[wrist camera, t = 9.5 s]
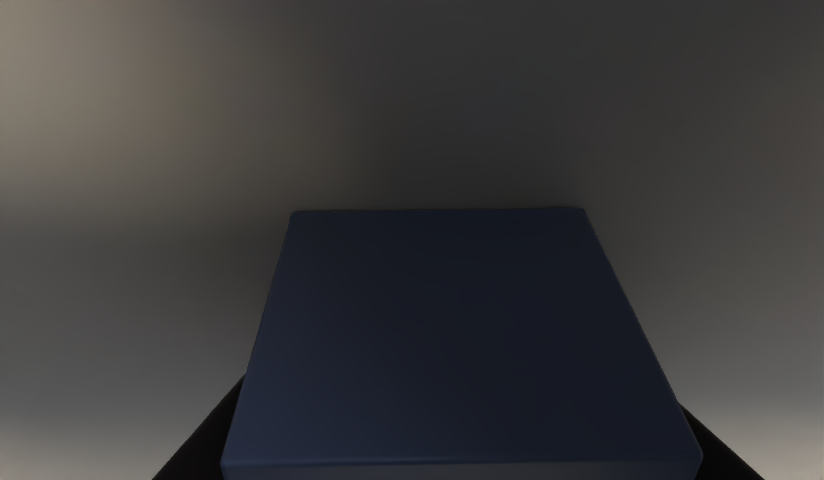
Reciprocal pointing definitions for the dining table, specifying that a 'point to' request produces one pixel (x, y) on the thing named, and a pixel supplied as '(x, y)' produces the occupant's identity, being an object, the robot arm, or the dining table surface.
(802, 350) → the dining table surface
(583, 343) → the block
